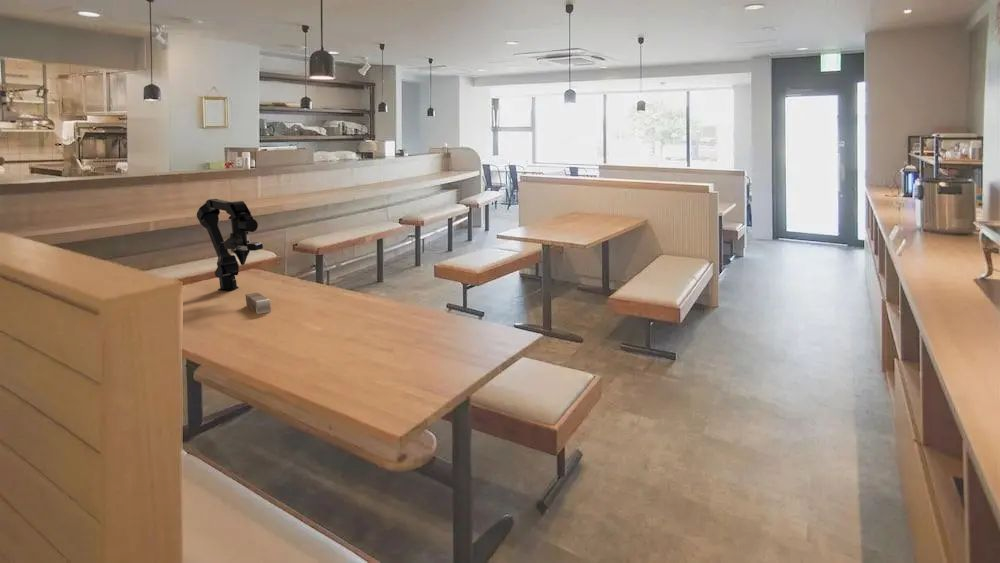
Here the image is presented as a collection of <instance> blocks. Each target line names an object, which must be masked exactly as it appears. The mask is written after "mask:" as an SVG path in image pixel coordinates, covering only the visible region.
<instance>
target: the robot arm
mask: <svg viewBox="0 0 1000 563" xmlns="http://www.w3.org/2000/svg"><path fill="white" fill-rule="evenodd" d="M221 211H223V212H224V211H225V212H226V213H227V215H230V216H229V217H228V220H230V224H231V232H230V234H229V237H228V238H227V239H226V240H224V238H223V235H222V233H221V230H220V228H219V220H220V218H219V215H220V213H221ZM251 213H252V212H251V211H250V209H249V207H248V205H247V204H246V202H245V201H243V200H238V201H228V200H223V199H219V198H209V199H207V200H206V201H205V203H204V204H203V205H201V206H200V207H199V208H198V210H197V212H196V218H197V220H198V221H199V223H200V225H201V226H202V227H203V228H205V229H206V230H207V233H208V236H209V238H210V241H211V243H212V245H213V248H214V250H215V254H216V256H217V260H216V266H217V267H216V269H215V271H214V276H215V278H217V279H219V288H218V289H217V290H218V291H226V292H229V291H230V292H231V291H233V290H236V289H239V286H238V285H237V284H238V283H237V279H236V276H239V269H240V265H241V266H244V265H245V263H246V261H247V258H248V256H249V254H250V251H259V250H263V248H264V246H263V243H262V242H260V241H259V242H258V241H253V242H250V240H248V234H249V232H250V233H253V232H256V231H257V230H258V228H259V223H258V222H257V220H256V219H254V216H253V215H252V214H251ZM229 250H230V251H231V252H232V253H233V254H230V252H229ZM236 257H237V258H236ZM237 259H238V260H237ZM238 261H239V262H238ZM239 264H240V265H239Z"/></svg>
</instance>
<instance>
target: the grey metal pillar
mask: <svg viewBox="0 0 1000 563" xmlns="http://www.w3.org/2000/svg"><path fill="white" fill-rule="evenodd" d="M245 302H246V307H247V308H249V309H251V311H253V312H254V313H256V314H258V315H259V314H260V315H261V314H265V313H270V312H272V311H271V309H272V308H271V300H270V299H269V298H267V297H266V296H264V295H262V294H261V293H259V292H251V293H246V294H245Z"/></svg>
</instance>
